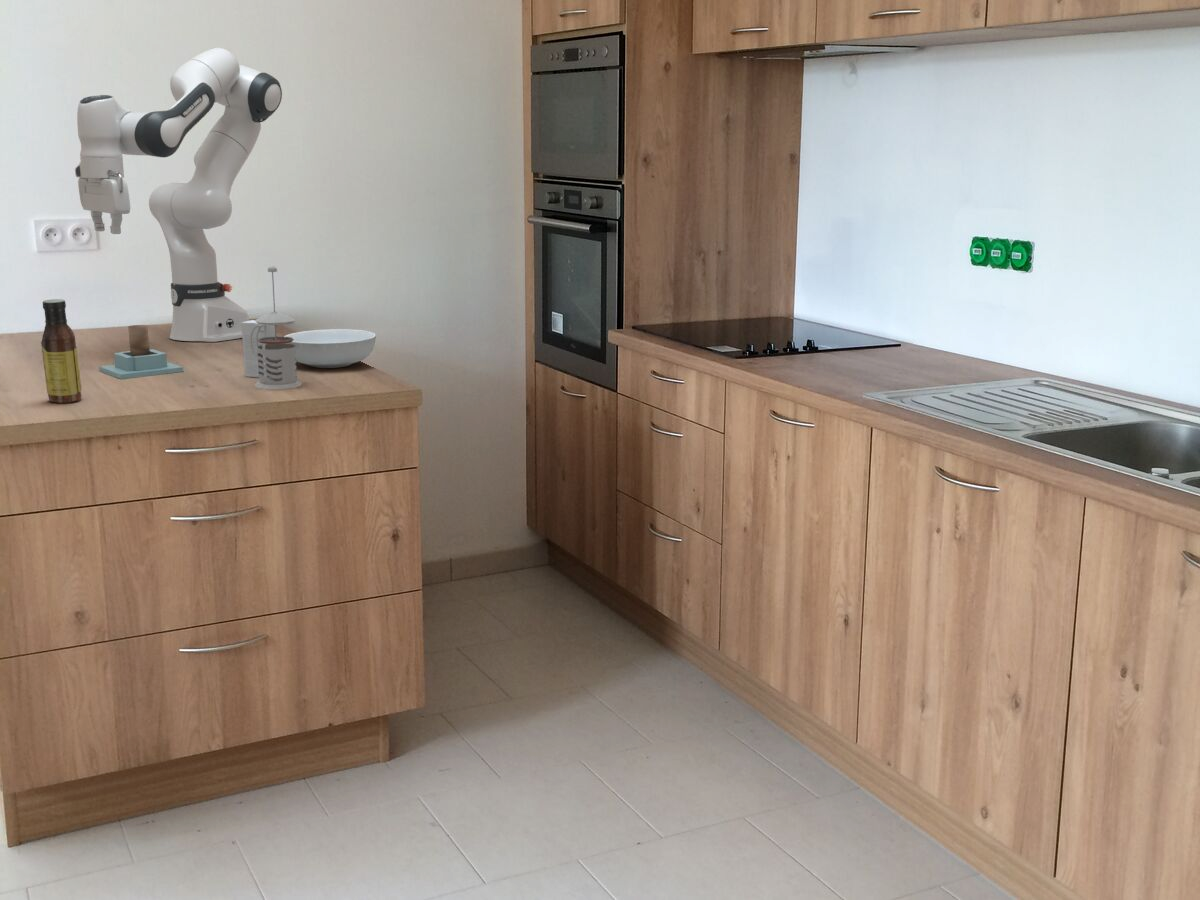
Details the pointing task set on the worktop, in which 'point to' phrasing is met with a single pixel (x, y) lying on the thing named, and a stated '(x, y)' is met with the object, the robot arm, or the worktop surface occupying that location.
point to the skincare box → (254, 345)
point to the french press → (276, 352)
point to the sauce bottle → (60, 355)
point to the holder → (140, 365)
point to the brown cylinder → (139, 340)
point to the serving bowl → (332, 347)
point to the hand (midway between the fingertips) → (107, 232)
